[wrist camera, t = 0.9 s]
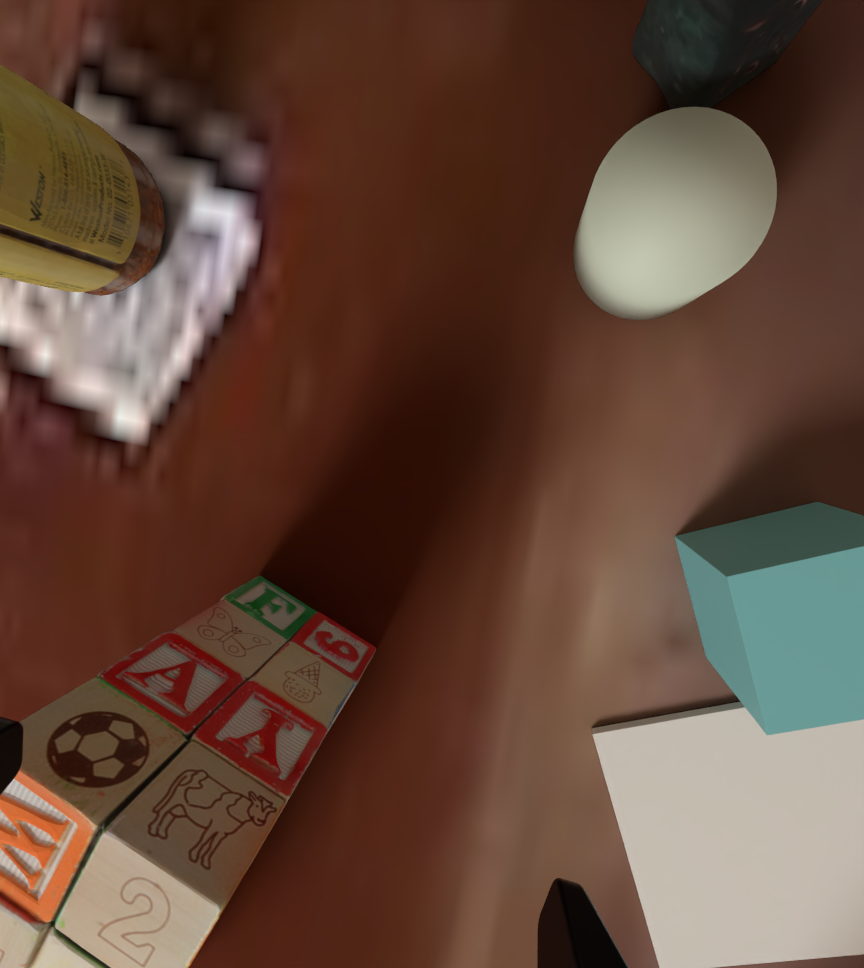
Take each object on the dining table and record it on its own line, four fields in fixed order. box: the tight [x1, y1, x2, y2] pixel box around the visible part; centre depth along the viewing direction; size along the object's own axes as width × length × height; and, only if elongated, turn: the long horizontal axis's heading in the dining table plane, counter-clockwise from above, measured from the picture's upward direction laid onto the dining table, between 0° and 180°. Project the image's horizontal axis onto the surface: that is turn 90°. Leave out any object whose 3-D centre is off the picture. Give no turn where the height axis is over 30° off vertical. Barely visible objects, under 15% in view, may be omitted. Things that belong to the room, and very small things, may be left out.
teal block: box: [675, 502, 864, 735], centre depth 17 cm, size 5×5×5 cm
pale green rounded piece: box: [573, 107, 777, 320], centre depth 16 cm, size 5×5×4 cm
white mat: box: [591, 702, 864, 968], centre depth 20 cm, size 11×11×1 cm
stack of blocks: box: [0, 576, 376, 968], centre depth 19 cm, size 21×6×12 cm, turn 151°
